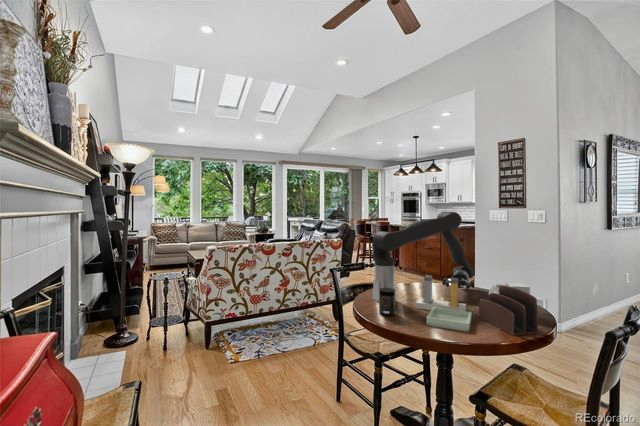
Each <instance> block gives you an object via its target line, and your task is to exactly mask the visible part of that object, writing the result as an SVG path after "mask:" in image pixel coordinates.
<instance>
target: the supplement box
mask: <svg viewBox="0 0 640 426" xmlns="http://www.w3.org/2000/svg"><path fill="white" fill-rule="evenodd" d="M504 284H505V285H504V286H509V287H513V288H516V289H519V290H522V291H524V292H526V293H528V294H530V295H531V287H530V286H529V285H527V284H525V283H523V282H505V283H504Z"/></svg>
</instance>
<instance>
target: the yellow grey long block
mask: <svg viewBox="0 0 640 426" xmlns="http://www.w3.org/2000/svg"><path fill="white" fill-rule="evenodd" d="M450 279H451V286H450V299H449V300H450V301H449V302H450V306H451V307H458V303H459V300H458V299H459V288H458V278H453V277H452V276H451V278H450Z"/></svg>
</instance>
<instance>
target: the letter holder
mask: <svg viewBox="0 0 640 426" xmlns="http://www.w3.org/2000/svg"><path fill="white" fill-rule="evenodd" d="M488 297H489V299H486V298H480V299H479V308H478V317H479V319H482V320H484V321H486V322H487V323H490V324H491V325H493V326H495V327H497V328H499V329H500V330H502V331H504V332H505V333H508V334H510V335H511V336H512V337H513V336H526V335H527V336H528V335H529V334H530V335H538V334H539V333H538V332H539V330H538V328H539V327H538V326H539V325H538V324H539V323H538V300H537V298H536V297H535V296H534V295H532V294H531V293H530V294H528V293H526V292H524V291H522V290H519V289H516V288H513V287H509V286H505V285H503V284H500V286H499V294H497V293H490V294H489V293H488Z"/></svg>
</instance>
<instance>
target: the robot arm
mask: <svg viewBox="0 0 640 426" xmlns="http://www.w3.org/2000/svg"><path fill="white" fill-rule="evenodd" d="M462 221H463V219H462V216H461V215H460V214H459V213H458V212H456V211H441V212H439V213H438V214H437V215H436V218H430V219H429V218H426V219H421V220H417V221H415V222H412V223H409V224H408V225H407V226H406V227H404V228H403V229H401V230H397V231H390V232H389V231H381V230H380V231H377V232H376V233H375V234H374V235H373V238H372V257H373V261H374V279H373V282H372V286H373V287H372V290H373V291H372V292H373V293H372V296H373V297H372V298H373V299H374V301H376V302H378V303H379V289H380V288H392V289H395V259H394V257H393V256H392V255H391V253H390V252H393V251H394V250H395V251H396V250H397V249H399V248H401V247H403V246H405V245H407V244H412V243H414V242H417V241H420V240H424V239H426V238H429V237H433V236H435V235H438V234H440V233H441V234H442V237H443V238H444V240H445V242H446V245H447V247H448V249H449V252H450V256H451V259H452V263H453V264H454V265H457V266H456V267H453V269H452V274H453V275H452V276H451V278H452V277H453V278H458V289H463V288H465V289H466V290H469V289H475V287H476V286H475V280H474V279H472V278H474V276H475V275H474V274H475V271H474V269H473V268H472V266H471V265H470V263H469V261H468V259H467V257H466V253H465V250H464V247H463V245H462V243H461V242H460V241H459V240H458V238H457V237H456V236H455V234H454V233H453V230H456V229H458V228H459V227H460V225H461V224H462ZM459 265H460V266H459ZM451 278H447V277H444V278H443V279H442V286H445V287H446V288H449V286H450V287H451ZM469 279H471V280H470V281H469Z"/></svg>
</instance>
